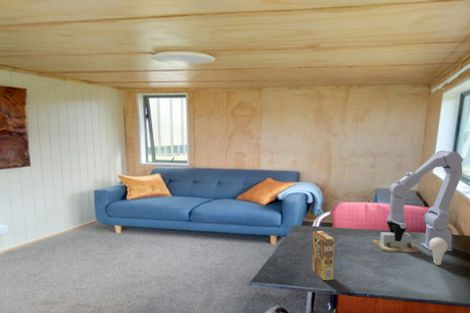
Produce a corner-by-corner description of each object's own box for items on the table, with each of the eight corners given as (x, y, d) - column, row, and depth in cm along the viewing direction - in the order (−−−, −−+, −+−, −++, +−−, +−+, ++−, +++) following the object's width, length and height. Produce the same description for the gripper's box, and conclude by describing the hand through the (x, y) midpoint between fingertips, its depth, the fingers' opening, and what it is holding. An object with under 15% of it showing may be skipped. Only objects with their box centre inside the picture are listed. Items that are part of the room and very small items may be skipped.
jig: (407, 242, 148) (407, 236, 148) (420, 252, 136) (420, 246, 136) (372, 241, 150) (373, 236, 149) (382, 251, 138) (382, 245, 138)
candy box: (334, 280, 112) (334, 238, 110) (323, 281, 111) (323, 239, 109) (321, 269, 120) (322, 230, 119) (311, 270, 119) (312, 231, 118)
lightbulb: (447, 264, 124) (449, 237, 123) (445, 269, 119) (446, 241, 118) (430, 260, 128) (431, 234, 127) (426, 265, 123) (427, 238, 123)
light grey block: (407, 243, 145) (407, 232, 144) (411, 246, 141) (411, 235, 140) (380, 242, 145) (380, 232, 145) (383, 245, 142) (383, 235, 141)
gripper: (381, 205, 149) (380, 233, 150) (394, 213, 135) (393, 244, 136) (397, 206, 149) (395, 233, 150) (411, 214, 134) (410, 244, 135)
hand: (395, 239), depth 143 cm, fingers closed on light grey block, 4 cm apart
